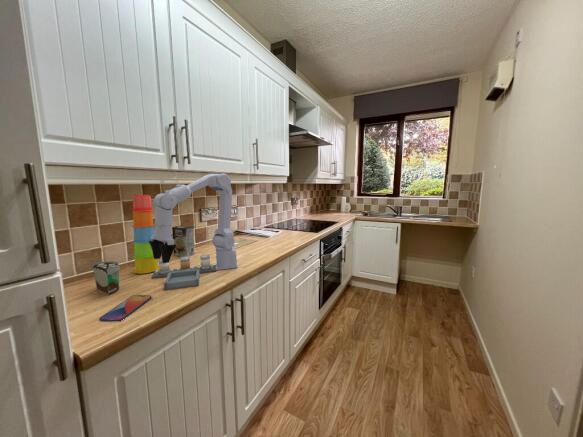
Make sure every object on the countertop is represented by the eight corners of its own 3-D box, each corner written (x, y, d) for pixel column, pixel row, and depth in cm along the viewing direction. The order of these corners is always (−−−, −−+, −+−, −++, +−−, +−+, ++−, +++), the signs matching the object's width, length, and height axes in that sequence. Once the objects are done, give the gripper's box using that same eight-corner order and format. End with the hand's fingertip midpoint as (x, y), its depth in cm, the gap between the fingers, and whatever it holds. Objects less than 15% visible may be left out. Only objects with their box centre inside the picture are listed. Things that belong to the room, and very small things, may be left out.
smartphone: (97, 322, 71) (96, 319, 71) (133, 297, 86) (133, 294, 86) (121, 323, 71) (120, 320, 71) (153, 298, 86) (153, 295, 86)
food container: (129, 289, 92) (126, 264, 90) (110, 296, 87) (107, 269, 85) (113, 282, 98) (110, 258, 96) (95, 288, 93) (91, 263, 91)
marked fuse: (190, 268, 112) (190, 255, 111) (190, 271, 108) (189, 258, 107) (181, 269, 111) (180, 256, 110) (180, 272, 107) (179, 259, 106)
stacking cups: (128, 272, 109) (120, 195, 104) (150, 265, 118) (144, 194, 113) (143, 276, 105) (135, 195, 100) (164, 268, 114) (158, 194, 109)
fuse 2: (210, 266, 115) (209, 254, 114) (210, 269, 111) (209, 256, 110) (201, 267, 113) (200, 255, 112) (200, 270, 110) (200, 257, 109)
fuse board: (215, 266, 117) (215, 262, 117) (216, 271, 110) (215, 267, 110) (155, 272, 109) (154, 268, 108) (151, 278, 102) (151, 274, 102)
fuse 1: (170, 270, 109) (169, 257, 108) (169, 273, 105) (168, 260, 105) (160, 271, 108) (159, 258, 107) (158, 274, 104) (157, 261, 103)
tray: (199, 274, 107) (199, 269, 106) (198, 285, 95) (198, 279, 95) (169, 277, 103) (168, 272, 103) (164, 289, 92) (164, 283, 91)
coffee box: (173, 256, 133) (171, 227, 131) (181, 252, 139) (179, 225, 137) (187, 257, 130) (185, 228, 128) (195, 254, 137) (193, 225, 134)
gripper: (144, 223, 94) (142, 258, 94) (160, 227, 84) (158, 266, 85) (163, 223, 99) (161, 256, 100) (180, 227, 90) (178, 263, 91)
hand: (161, 260), depth 93 cm, fingers open, 7 cm apart
